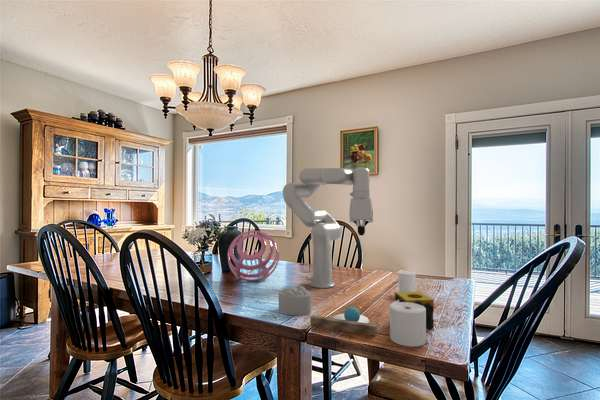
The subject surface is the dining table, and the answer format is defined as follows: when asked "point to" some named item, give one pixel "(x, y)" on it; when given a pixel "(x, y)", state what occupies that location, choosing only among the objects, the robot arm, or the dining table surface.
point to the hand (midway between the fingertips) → (361, 235)
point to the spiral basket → (253, 257)
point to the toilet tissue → (407, 323)
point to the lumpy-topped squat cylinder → (295, 301)
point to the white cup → (406, 281)
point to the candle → (421, 300)
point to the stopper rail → (344, 325)
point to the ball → (352, 314)
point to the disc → (362, 320)
